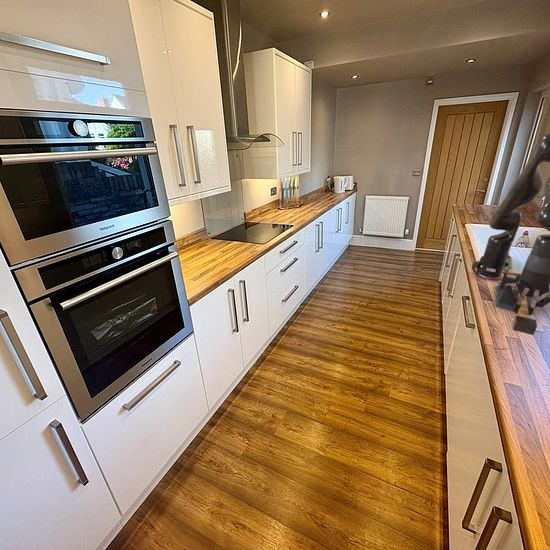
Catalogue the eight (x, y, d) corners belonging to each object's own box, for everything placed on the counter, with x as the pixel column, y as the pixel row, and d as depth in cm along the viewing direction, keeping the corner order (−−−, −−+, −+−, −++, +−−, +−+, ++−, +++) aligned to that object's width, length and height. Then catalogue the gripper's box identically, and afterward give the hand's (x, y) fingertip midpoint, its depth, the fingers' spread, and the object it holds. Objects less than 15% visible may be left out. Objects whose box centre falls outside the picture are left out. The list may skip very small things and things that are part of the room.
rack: (496, 287, 135) (506, 259, 129) (526, 293, 130) (538, 264, 123) (496, 306, 121) (507, 275, 115) (530, 314, 115) (543, 282, 109)
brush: (510, 299, 108) (513, 291, 106) (527, 303, 105) (531, 295, 104) (512, 330, 92) (516, 321, 90) (533, 335, 89) (537, 326, 87)
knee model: (507, 266, 167) (506, 276, 149) (493, 258, 170) (490, 266, 152) (520, 254, 162) (520, 262, 144) (506, 245, 166) (504, 252, 147)
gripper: (567, 268, 90) (546, 314, 98) (512, 259, 98) (496, 303, 105) (571, 277, 85) (548, 325, 93) (512, 267, 92) (496, 313, 100)
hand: (520, 313), depth 99 cm, fingers closed on brush, 2 cm apart
